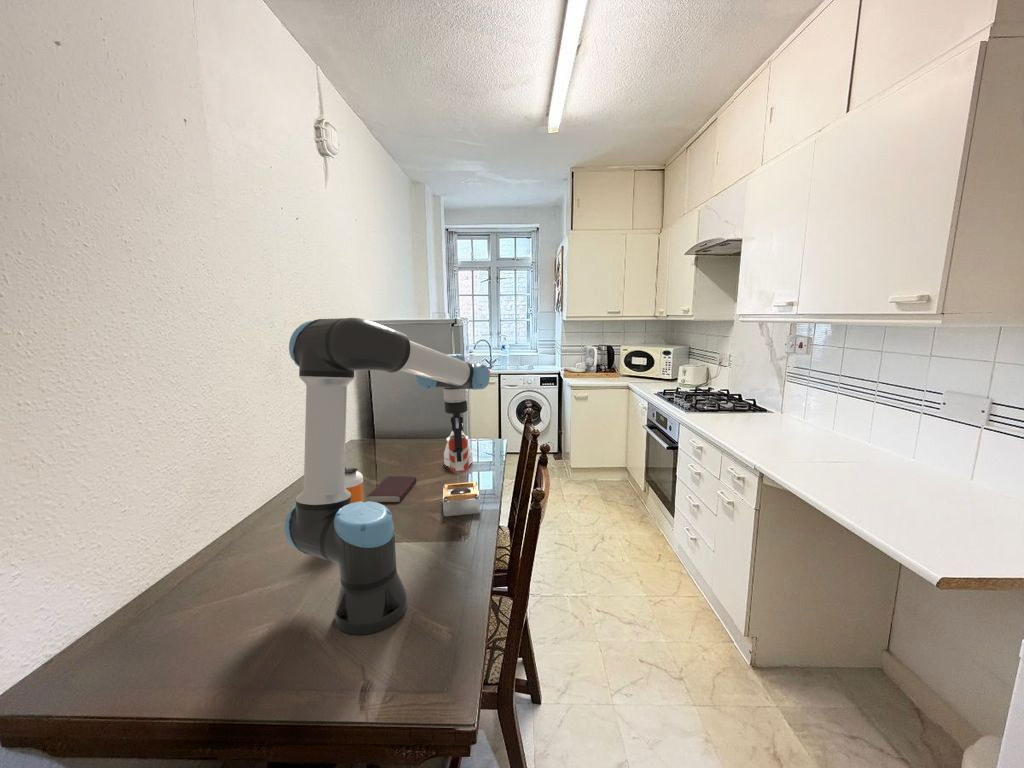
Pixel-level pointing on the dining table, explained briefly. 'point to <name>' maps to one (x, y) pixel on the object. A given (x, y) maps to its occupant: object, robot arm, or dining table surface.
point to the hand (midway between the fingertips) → (459, 466)
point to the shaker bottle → (354, 484)
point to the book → (392, 489)
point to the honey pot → (446, 453)
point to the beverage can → (452, 455)
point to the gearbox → (461, 499)
